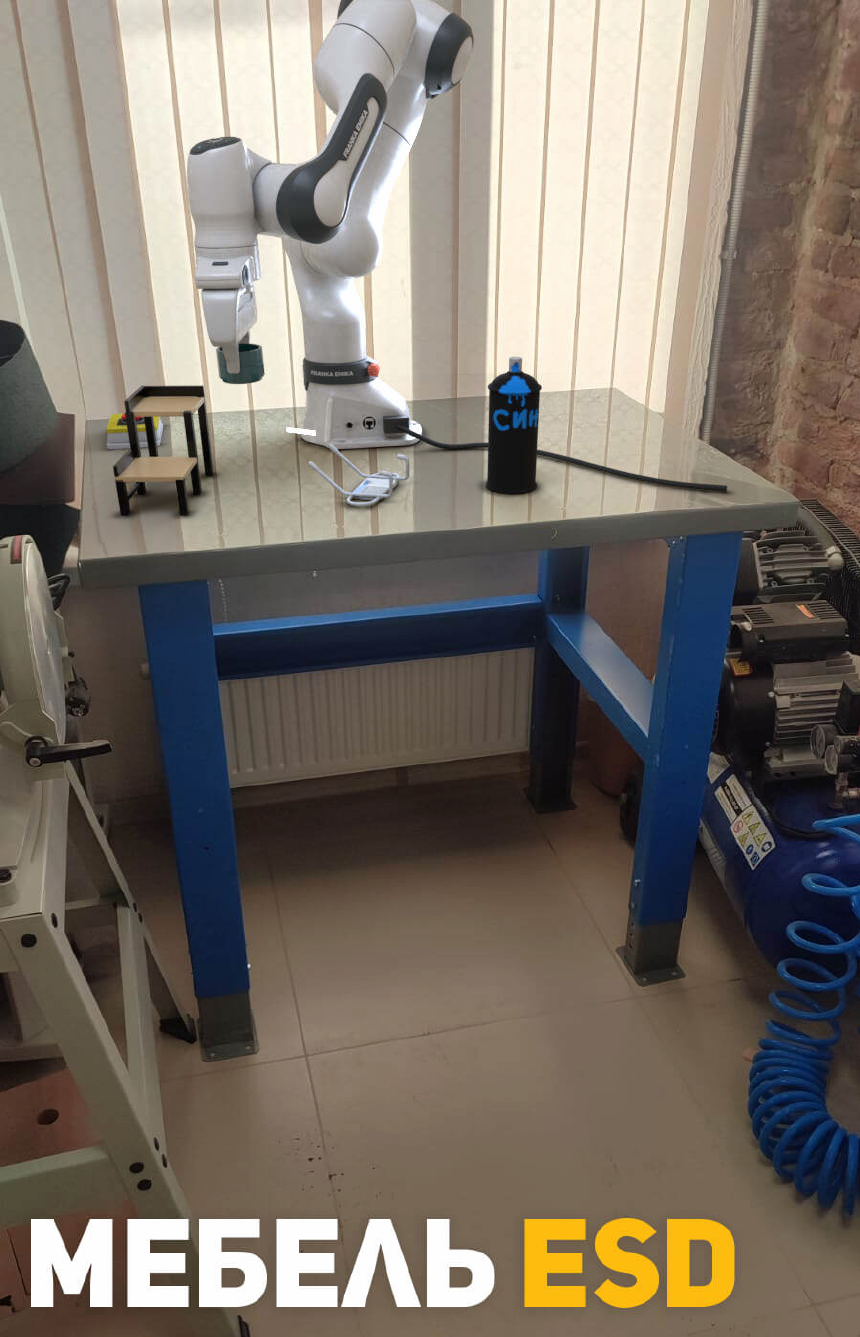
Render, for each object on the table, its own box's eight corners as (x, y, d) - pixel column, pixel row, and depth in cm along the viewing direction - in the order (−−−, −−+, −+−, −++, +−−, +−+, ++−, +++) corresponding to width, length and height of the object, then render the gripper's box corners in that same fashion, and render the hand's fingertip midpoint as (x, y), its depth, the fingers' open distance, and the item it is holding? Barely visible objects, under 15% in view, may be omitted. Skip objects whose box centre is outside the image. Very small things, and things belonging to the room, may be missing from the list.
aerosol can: (482, 479, 163) (484, 353, 153) (532, 477, 164) (537, 352, 154) (489, 495, 156) (492, 364, 146) (541, 493, 156) (547, 363, 147)
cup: (267, 374, 152) (264, 343, 150) (261, 384, 147) (258, 352, 144) (224, 375, 153) (220, 343, 150) (216, 385, 147) (212, 353, 145)
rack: (213, 474, 166) (203, 385, 159) (187, 515, 149) (175, 417, 142) (154, 474, 166) (141, 385, 159) (120, 516, 149) (104, 418, 142)
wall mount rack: (386, 511, 150) (385, 473, 147) (302, 503, 153) (299, 466, 150) (415, 479, 163) (415, 444, 160) (337, 473, 166) (335, 438, 164)
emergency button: (102, 425, 177) (110, 404, 190) (106, 449, 179) (114, 427, 192) (156, 422, 179) (160, 402, 192) (159, 446, 181) (163, 425, 194)
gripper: (220, 258, 151) (230, 352, 158) (191, 277, 133) (204, 382, 140) (261, 257, 151) (270, 351, 158) (238, 276, 133) (249, 382, 140)
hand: (239, 366), depth 149 cm, fingers closed on cup, 6 cm apart
